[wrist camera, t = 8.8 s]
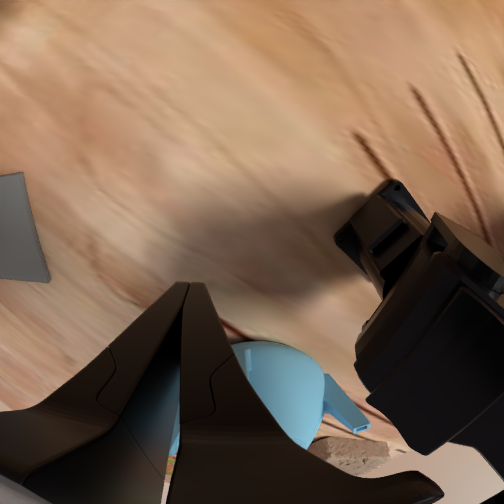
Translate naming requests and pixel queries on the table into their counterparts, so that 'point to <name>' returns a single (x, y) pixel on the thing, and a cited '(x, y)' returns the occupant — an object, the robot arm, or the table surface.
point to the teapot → (292, 391)
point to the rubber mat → (19, 234)
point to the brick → (351, 454)
